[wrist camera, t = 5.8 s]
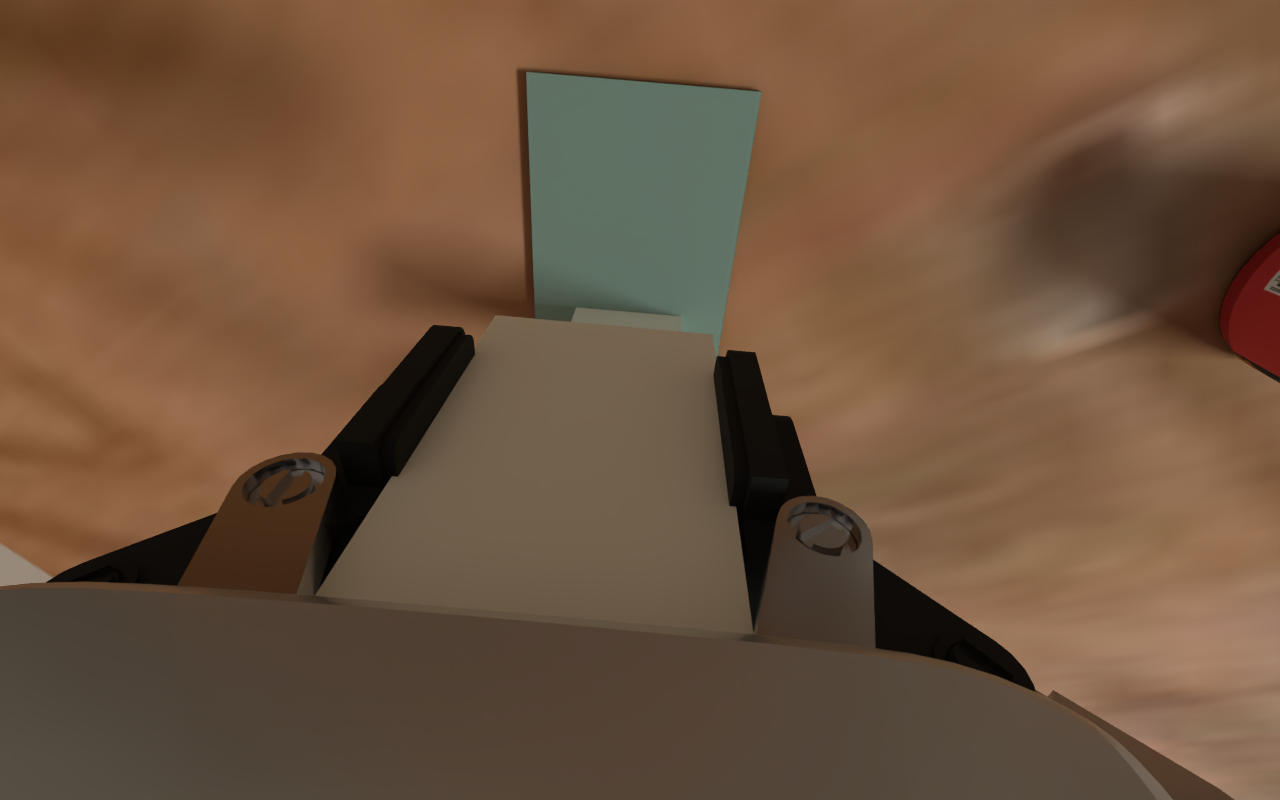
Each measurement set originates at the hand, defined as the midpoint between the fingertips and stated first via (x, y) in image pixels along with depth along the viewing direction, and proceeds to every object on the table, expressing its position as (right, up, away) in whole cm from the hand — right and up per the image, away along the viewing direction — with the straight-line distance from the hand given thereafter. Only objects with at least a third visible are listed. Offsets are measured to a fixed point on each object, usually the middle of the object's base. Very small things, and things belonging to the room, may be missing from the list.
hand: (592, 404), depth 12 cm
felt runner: (0, -1, +19) cm, 19 cm away
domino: (0, +1, +2) cm, 2 cm away
